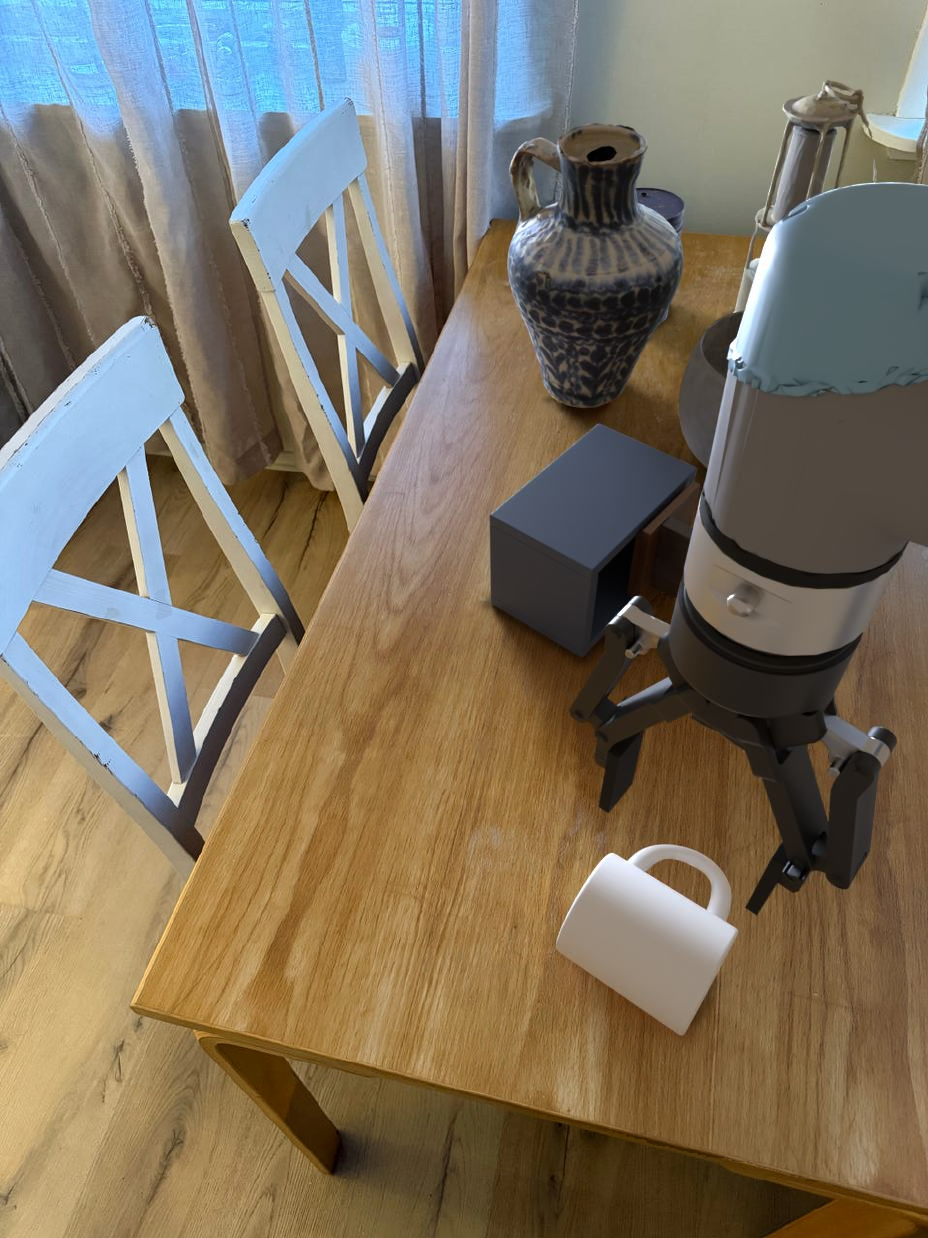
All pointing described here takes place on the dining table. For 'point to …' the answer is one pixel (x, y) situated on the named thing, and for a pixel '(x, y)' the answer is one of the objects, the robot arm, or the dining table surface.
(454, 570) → the dining table surface
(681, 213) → the storage jar
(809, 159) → the lamp
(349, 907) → the dining table surface
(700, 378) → the bowl
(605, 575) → the cabinet
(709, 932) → the mug
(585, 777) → the dining table surface
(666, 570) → the sliding door
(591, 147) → the jug
